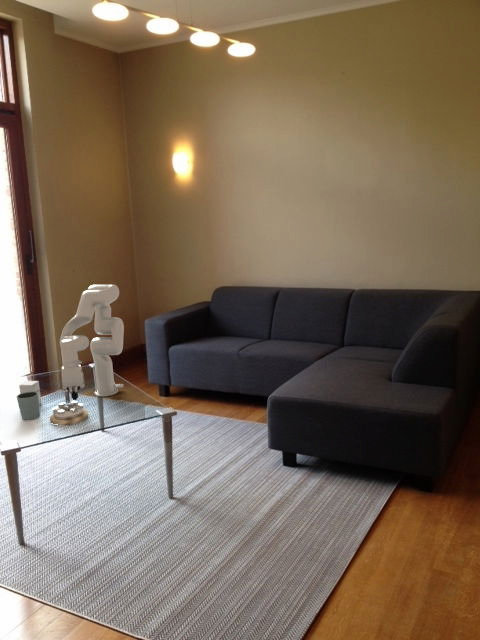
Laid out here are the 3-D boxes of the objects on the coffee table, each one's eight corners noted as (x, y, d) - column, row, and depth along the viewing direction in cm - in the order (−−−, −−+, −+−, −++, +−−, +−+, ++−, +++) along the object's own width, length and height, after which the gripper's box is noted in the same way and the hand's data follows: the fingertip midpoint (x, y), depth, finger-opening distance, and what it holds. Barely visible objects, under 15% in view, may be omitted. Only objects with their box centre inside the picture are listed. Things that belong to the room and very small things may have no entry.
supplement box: (34, 408, 303) (31, 385, 300) (21, 408, 304) (18, 385, 301) (42, 403, 310) (38, 380, 307) (29, 403, 311) (26, 380, 308)
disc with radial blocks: (54, 411, 289) (52, 392, 287) (83, 407, 293) (81, 388, 290) (53, 421, 276) (50, 401, 274) (83, 417, 279) (81, 397, 277)
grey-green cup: (31, 422, 284) (28, 398, 281) (15, 420, 287) (11, 397, 285) (45, 414, 293) (42, 391, 290) (29, 412, 296) (25, 390, 294)
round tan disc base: (86, 409, 296) (85, 404, 295) (90, 421, 279) (89, 416, 279) (49, 415, 290) (48, 411, 290) (51, 428, 274) (50, 423, 273)
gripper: (87, 360, 289) (91, 395, 293) (56, 363, 288) (61, 398, 291) (84, 364, 281) (89, 400, 285) (53, 367, 280) (58, 403, 284)
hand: (75, 399), depth 288 cm, fingers closed
